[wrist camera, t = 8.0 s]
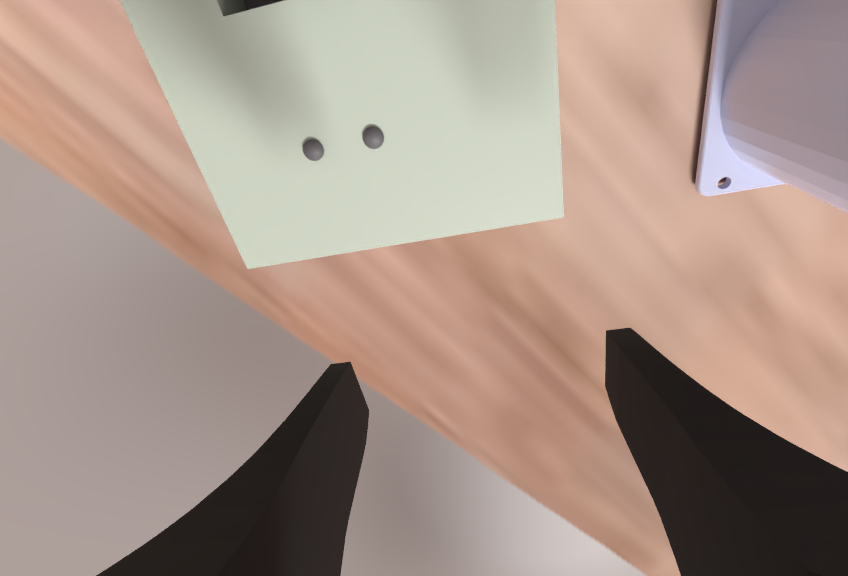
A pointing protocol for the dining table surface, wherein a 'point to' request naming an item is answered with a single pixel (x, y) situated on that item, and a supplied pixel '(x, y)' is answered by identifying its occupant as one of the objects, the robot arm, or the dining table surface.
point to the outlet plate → (362, 116)
